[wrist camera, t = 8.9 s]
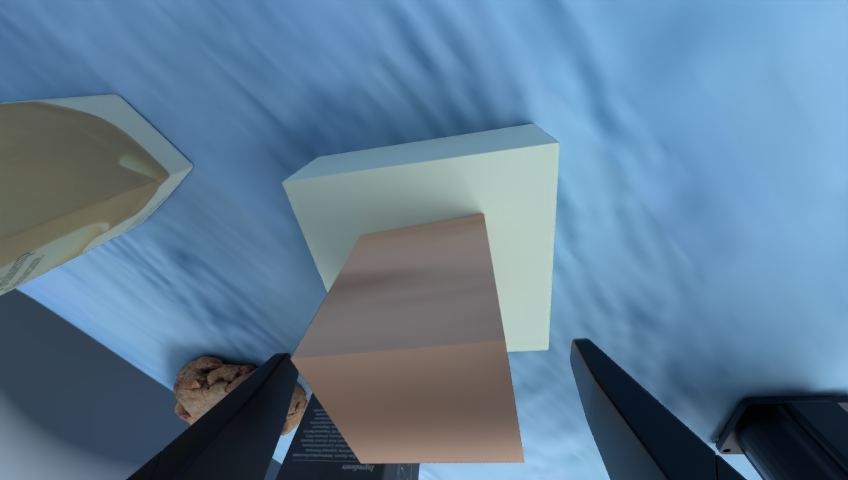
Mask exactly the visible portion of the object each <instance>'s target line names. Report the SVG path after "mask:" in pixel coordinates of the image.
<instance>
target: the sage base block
mask: <svg viewBox="0 0 848 480" xmlns="http://www.w3.org/2000/svg"><path fill="white" fill-rule="evenodd" d="M559 144H560V142H558V141H557V140H556V139H554V138H553V137H552V136H550V135H549V134H548V133H546V132H545V131H544V130H542V129H541V128H540V127H538V126H537V125H536V124H534V123H533V124H527V125H520V126H514V127H508V128H501V129H495V130H488V131H482V132H475V133H469V134H462V135H456V136H449V137H443V138H436V139H430V140H423V141H417V142H410V143H404V144H398V145H391V146H385V147H378V148H372V149H365V150H359V151H352V152H346V153H339V154H333V155H326V156H320V157H317V158H316V159H314V160H313V161H311V162H310V163H309V164H307V165H306V166H304V167H303V168H301V169H300V170H298V171H297V172H296V173H294V174H293V175H291V176H290V177H288V178H287V179H285V180H284V181H283V182H282V185H283V187H284V189H285V192H286V194H287V197H288V199H289V201H290V204H291V206H292V209H293V211H294V213H295V216H296V218H297V221H298V223H299V225H300V228H301V230H302V233H303V235H304V238H305V240H306V242H307V245H308V247H309V250H310V252H311V254H312V257H313V259H314V262H315V264H316V266H317V269H318V271H319V274H320V276H321V278H322V281H323V283H324V286H325V288H326V290H327V293H328V292H329V290H330V288H331V286H332V285H333V283H334V281H335V279H336V277H337V276H338V274H339V272H340V270H341V269H342V267H343V265H344V263H345V262H346V260H347V258H348V256H349V254H350V253H351V251H352V249H353V247H354V246H355V244H356V242H357V240H358V239H359V237H360V235H363V234H368V233H374V232H380V231H386V230H392V229H397V228H403V227H409V226H415V225H421V224H426V223H432V222H438V221H444V220H450V219H455V218H461V217H467V216H473V215H479V214H484V217H485V223H486V229H487V235H488V240H489V246H490V252H491V258H492V264H493V270H494V276H495V282H496V288H497V294H498V300H499V306H500V311H501V317H502V323H503V329H504V335H505V341H506V347H507V352H516V351H540V350H548V348H549V330H550V311H551V293H552V274H553V255H554V237H555V218H556V200H557V181H558V163H559Z"/></svg>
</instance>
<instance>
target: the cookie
mask: <svg viewBox="0 0 848 480" xmlns="http://www.w3.org/2000/svg"><path fill="white" fill-rule="evenodd" d="M258 368H259V367H258ZM258 368H257V369H258ZM257 369H256V367H255V366H253V365H252V364H250V365H242V366H239V365H225V364H222V361H221V360H219V359H217V358H214V357H207V356H202V357H200V358H199V359H196V360H193V361H191V362H190V363H189V364H187V365H185V366H184V367H183V368H182V369H181V370H180V371H179V373H178V374H177V379H176V383H175V385H174V390H173V391H174V393H175V394H176V398H177V399H178V401H177V404H176V407H175V413H177V414H178V415H179V417H180V418H181V419H182V420H185V421H187V422H189V424H190V425H192V424H193V423H194V422H195V421H197V420H198V419H199V418H200V417H201V416H203V415H204V414H205V413H206V412H207V411H208V410H210V409H211V408H212V407H213V406H214V405H216V404H217V403H218V402H219V401H220V400H221V399H223V398H224V397H225V396H226V395H227V394H229V393H230V392H231V391H232V390H233V389H234V388H236V387H237V386H238V385H239V384H240V383H242V382H243V381H244V380H245V379H246V378H247V377H249V376H250V375H251V374H252V373H253V372H255V371H256V370H257ZM306 395H307V394H306V391H304V389H302V388H301V387H300V385H298V384H297V383H296V385H295V389H294V393H293V396H292V400H291V404H290V407H289V411H288V415H287V418H286V421H285V424H284V427H283V430H282V433H281V435H283V436H284V435H286V434H288V433H289V432H290V431H292V430H293V429H294V428H295V427H296V426H297V425H298V424H299V423H300V421H301V419H302V417H303V414H304V412H303V410H305V408H306V407H307V405H308V400H306Z"/></svg>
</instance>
